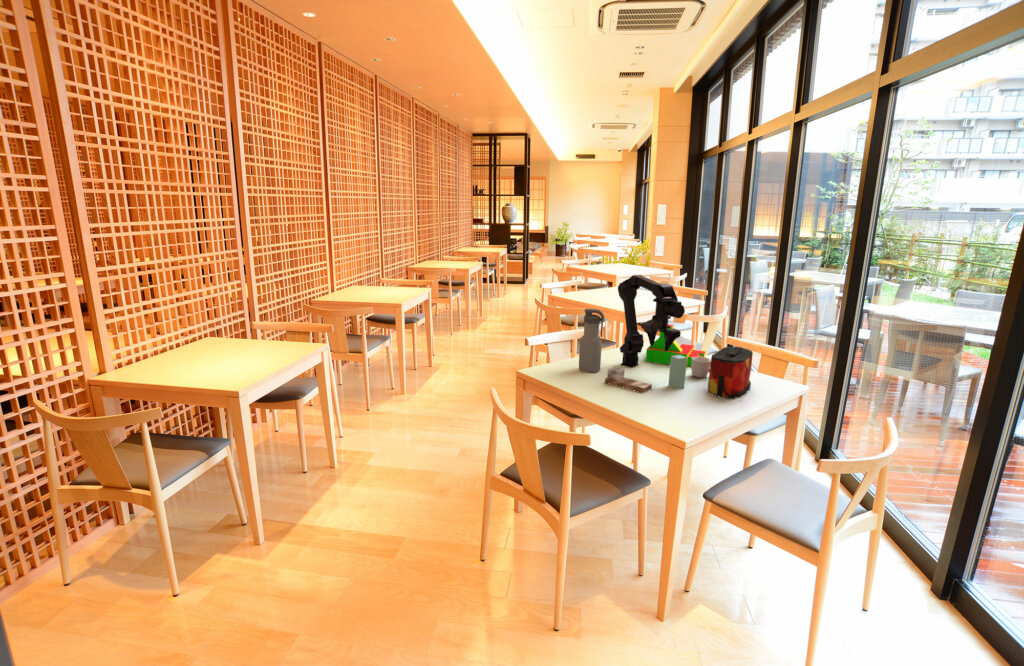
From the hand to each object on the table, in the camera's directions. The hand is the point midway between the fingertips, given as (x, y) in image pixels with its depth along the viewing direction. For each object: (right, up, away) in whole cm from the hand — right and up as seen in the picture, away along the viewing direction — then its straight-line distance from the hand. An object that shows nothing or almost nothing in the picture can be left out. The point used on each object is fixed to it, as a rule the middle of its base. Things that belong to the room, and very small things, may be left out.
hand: (658, 348), depth 229 cm
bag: (+27, -17, -11) cm, 33 cm away
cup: (+21, -13, +5) cm, 25 cm away
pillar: (+4, -16, -10) cm, 19 cm away
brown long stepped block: (-16, -15, -10) cm, 24 cm away
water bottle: (-28, -10, +11) cm, 32 cm away
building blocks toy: (+17, -7, +29) cm, 34 cm away
